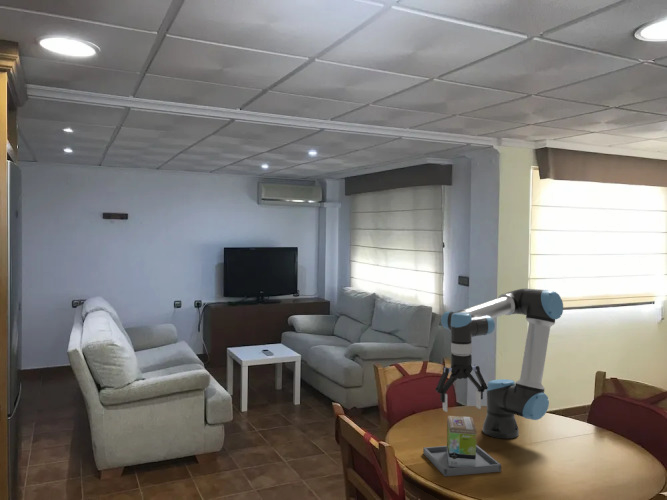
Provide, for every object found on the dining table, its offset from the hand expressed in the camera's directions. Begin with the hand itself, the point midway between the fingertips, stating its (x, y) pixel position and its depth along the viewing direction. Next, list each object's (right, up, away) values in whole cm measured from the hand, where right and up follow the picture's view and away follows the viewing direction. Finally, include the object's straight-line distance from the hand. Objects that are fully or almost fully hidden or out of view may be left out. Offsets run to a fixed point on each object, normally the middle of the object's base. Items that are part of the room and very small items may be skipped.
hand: (461, 409), depth 205 cm
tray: (0, -20, 0) cm, 20 cm away
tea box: (0, -20, 0) cm, 20 cm away
